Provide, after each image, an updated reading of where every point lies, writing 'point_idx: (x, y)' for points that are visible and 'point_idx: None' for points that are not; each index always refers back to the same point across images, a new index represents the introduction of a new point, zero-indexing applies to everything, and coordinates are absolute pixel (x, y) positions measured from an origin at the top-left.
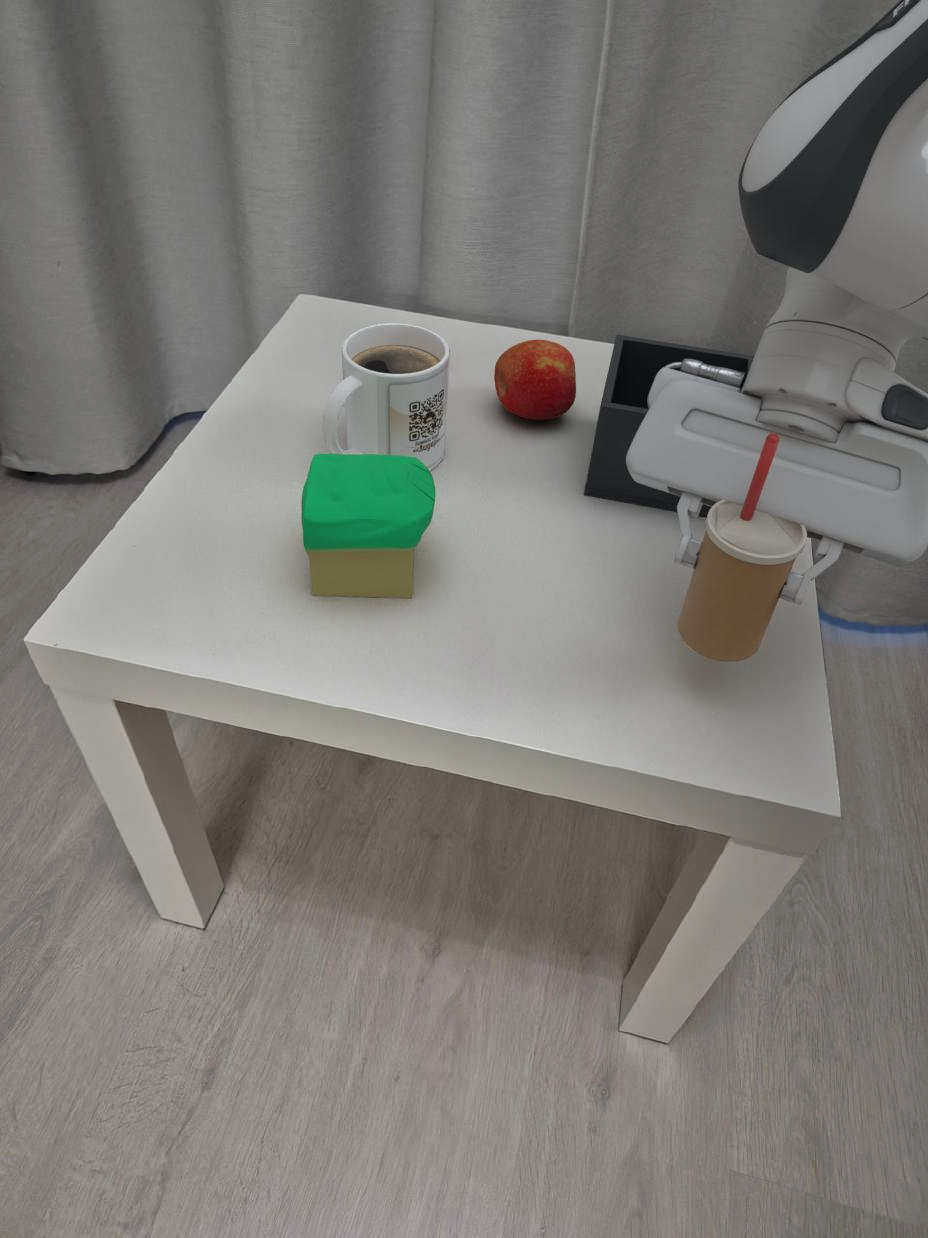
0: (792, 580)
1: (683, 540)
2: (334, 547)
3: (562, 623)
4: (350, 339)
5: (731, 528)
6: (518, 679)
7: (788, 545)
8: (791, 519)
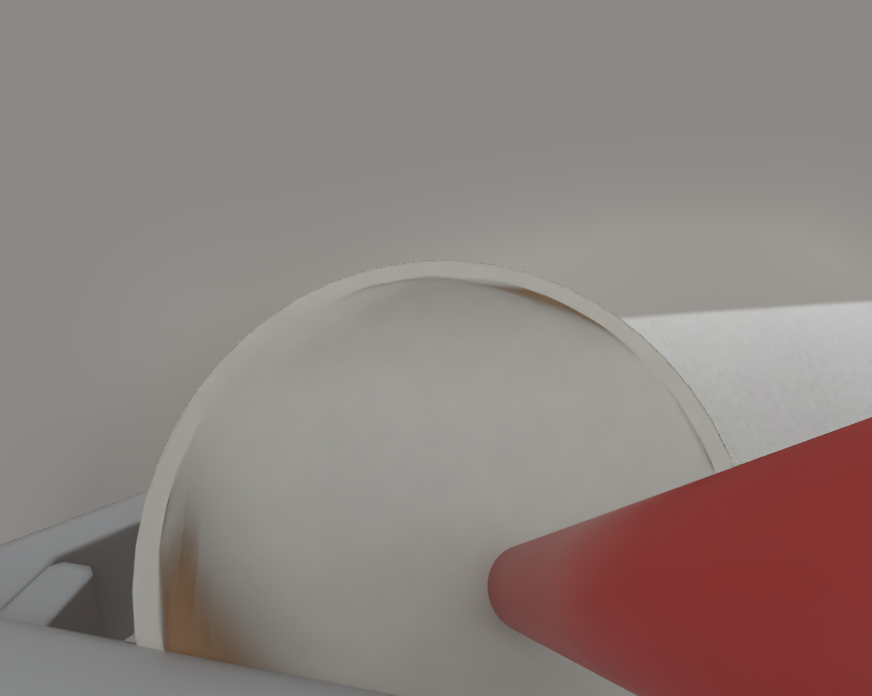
0: None
1: None
2: None
3: None
4: None
5: (589, 433)
6: (755, 435)
7: (265, 390)
8: (220, 672)
